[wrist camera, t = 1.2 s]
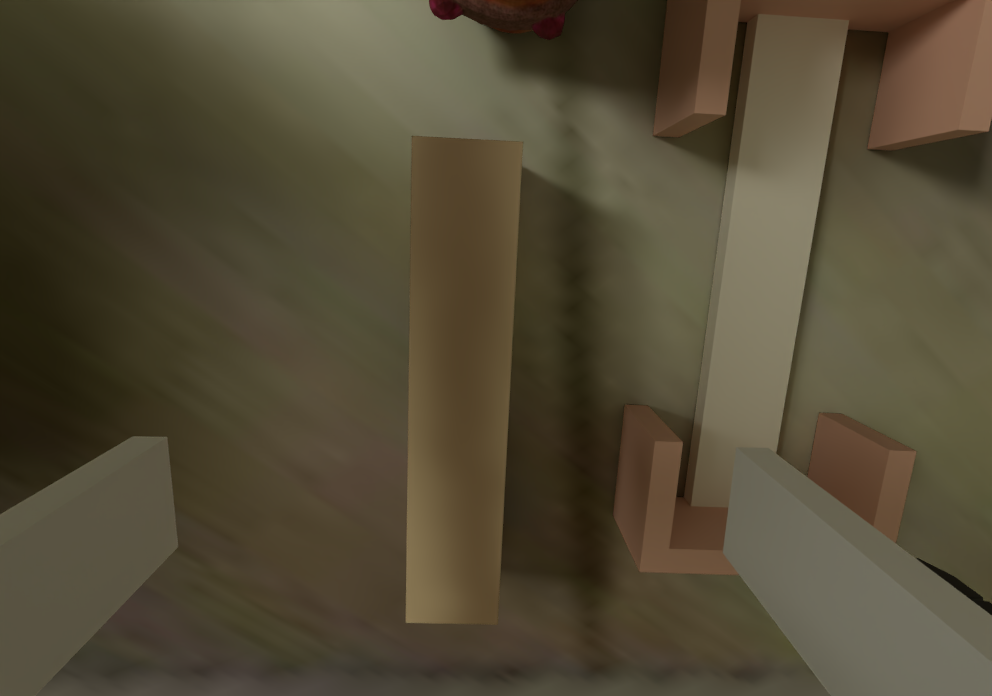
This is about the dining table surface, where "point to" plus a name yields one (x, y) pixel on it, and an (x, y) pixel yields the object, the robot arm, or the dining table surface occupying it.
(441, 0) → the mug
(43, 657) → the robot arm
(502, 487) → the tan wooden beam
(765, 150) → the endcap rail
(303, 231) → the dining table surface
